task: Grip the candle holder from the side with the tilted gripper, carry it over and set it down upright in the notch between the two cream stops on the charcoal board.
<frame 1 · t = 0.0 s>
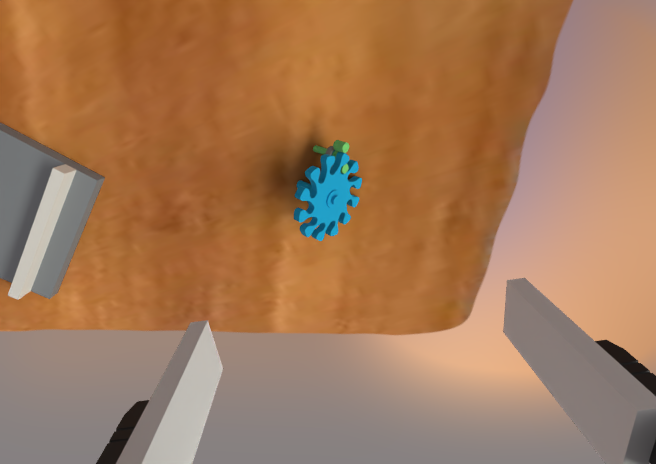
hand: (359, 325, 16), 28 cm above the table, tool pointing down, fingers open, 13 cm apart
gear: (329, 183, 42), on the table
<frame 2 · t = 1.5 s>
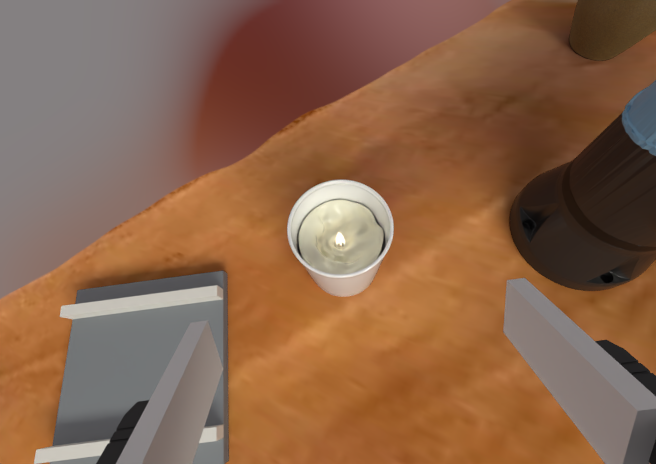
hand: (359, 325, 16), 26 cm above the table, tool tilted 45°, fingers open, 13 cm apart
candle holder: (343, 264, 44), on the table
notched board: (150, 368, 40), on the table
plant pot: (595, 44, 54), on the table
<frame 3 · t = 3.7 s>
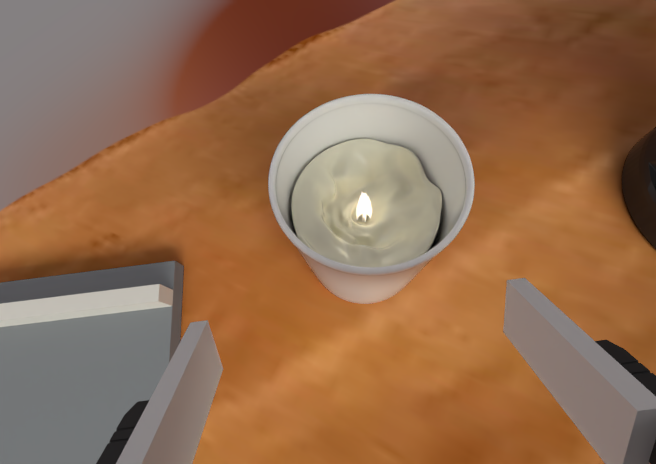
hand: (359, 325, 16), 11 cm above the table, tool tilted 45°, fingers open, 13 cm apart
candle holder: (363, 252, 28), on the table
notched board: (53, 416, 25), on the table
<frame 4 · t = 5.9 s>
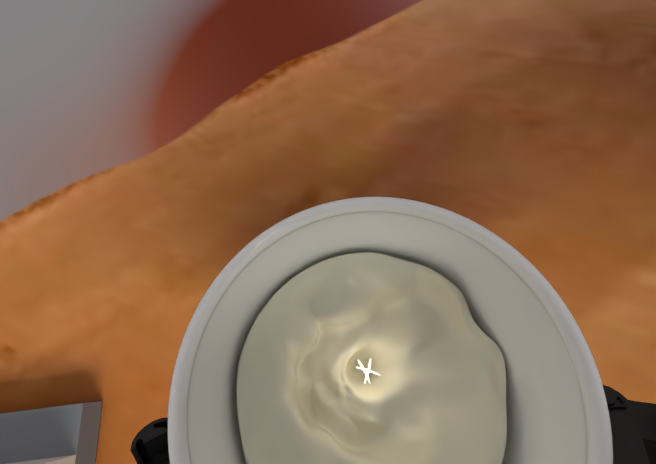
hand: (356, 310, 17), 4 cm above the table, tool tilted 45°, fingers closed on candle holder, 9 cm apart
candle holder: (364, 381, 19), on the table, touching gripper
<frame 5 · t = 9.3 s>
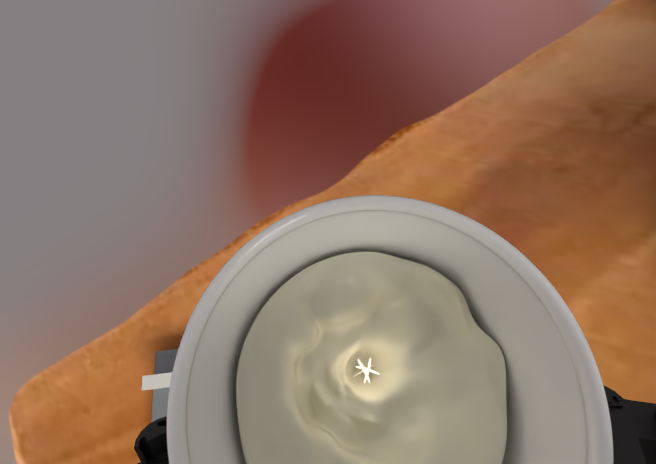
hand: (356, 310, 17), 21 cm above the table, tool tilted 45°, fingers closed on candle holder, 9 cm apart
candle holder: (364, 381, 19), point 17 cm above the table, touching gripper
notched board: (250, 451, 33), on the table
when the fingers open (7 cm above the table, at t = 12.7 s): candle holder drops 1 cm, resting on notched board.
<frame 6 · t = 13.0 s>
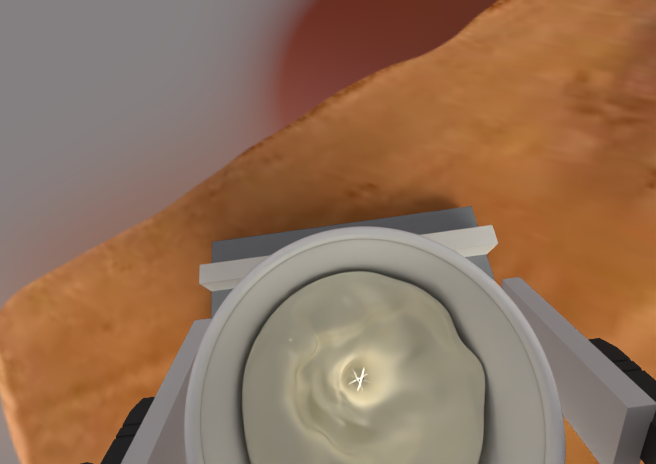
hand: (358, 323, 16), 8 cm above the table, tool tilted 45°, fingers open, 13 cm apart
candle holder: (359, 386, 20), point 1 cm above the table, touching notched board
notched board: (363, 380, 22), on the table
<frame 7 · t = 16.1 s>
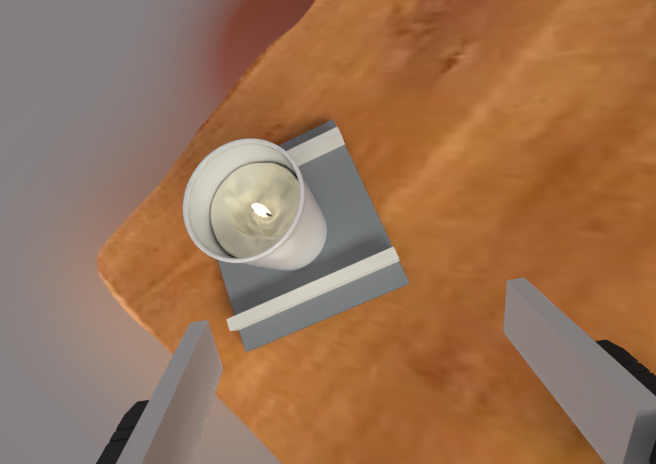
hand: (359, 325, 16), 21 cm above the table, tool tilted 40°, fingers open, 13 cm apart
candle holder: (290, 233, 38), point 1 cm above the table, touching notched board
notched board: (295, 232, 39), on the table
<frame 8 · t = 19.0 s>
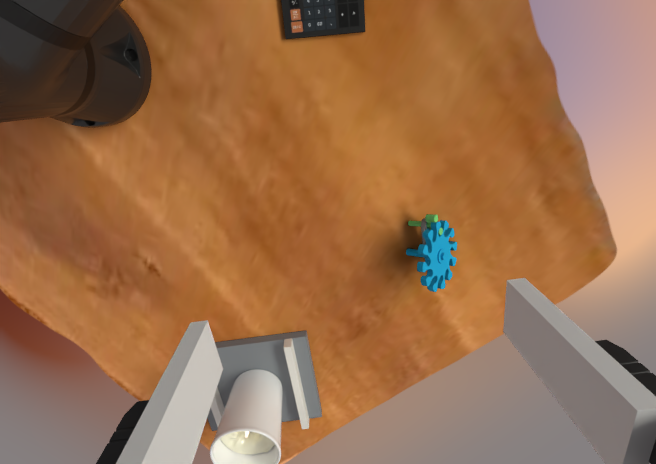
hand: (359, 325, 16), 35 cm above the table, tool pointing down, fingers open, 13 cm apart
gear: (428, 240, 53), on the table
candle holder: (258, 386, 60), point 1 cm above the table, touching notched board
notched board: (257, 379, 61), on the table
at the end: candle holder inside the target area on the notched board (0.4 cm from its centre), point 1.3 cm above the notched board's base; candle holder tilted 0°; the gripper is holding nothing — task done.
